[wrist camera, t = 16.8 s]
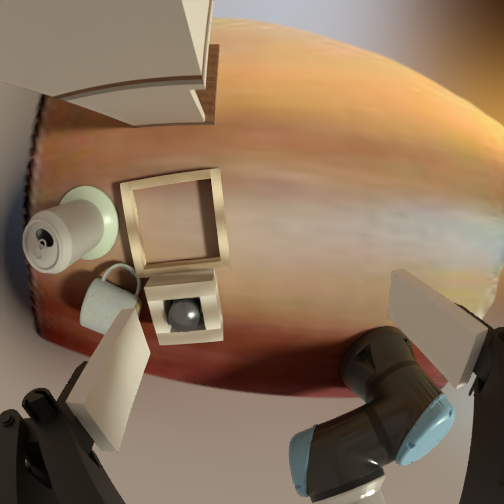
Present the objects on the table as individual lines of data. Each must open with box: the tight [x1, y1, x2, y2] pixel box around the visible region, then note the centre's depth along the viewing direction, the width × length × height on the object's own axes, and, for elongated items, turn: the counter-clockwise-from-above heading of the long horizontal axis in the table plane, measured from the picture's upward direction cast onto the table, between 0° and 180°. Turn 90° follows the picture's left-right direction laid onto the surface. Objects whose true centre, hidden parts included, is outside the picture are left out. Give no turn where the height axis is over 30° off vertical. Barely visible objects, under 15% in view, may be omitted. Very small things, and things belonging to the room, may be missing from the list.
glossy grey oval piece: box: [168, 297, 201, 332], centre depth 37 cm, size 4×4×5 cm
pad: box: [59, 186, 119, 260], centre depth 36 cm, size 11×11×1 cm
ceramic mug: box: [80, 263, 142, 335], centre depth 36 cm, size 11×8×8 cm
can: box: [22, 199, 104, 274], centre depth 30 cm, size 8×8×12 cm
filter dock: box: [120, 168, 231, 345], centre depth 36 cm, size 22×13×6 cm, turn 5°
